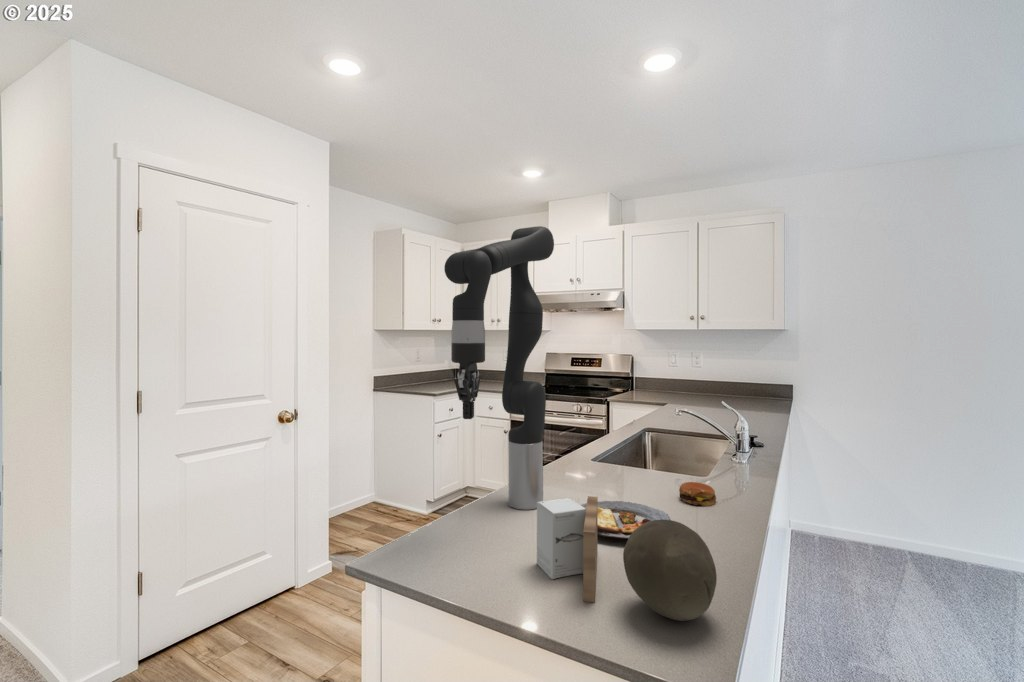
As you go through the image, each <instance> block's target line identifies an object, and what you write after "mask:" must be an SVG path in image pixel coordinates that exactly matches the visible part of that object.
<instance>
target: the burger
mask: <svg viewBox="0 0 1024 682" xmlns="http://www.w3.org/2000/svg"><path fill="white" fill-rule="evenodd" d="M678 490H679V491H678V492H679V498H680V499H682V500H683V502H685V503H688V504H692V505H693V506H698V505H700V506H701V507H710V506H714V505H715V503H716V500H717V495H716V492H715V489H714V488H713V487H712V486H711V485H708V484H705V483H702V482H697V481H688V482H684V483H681V485H680V486H679V489H678Z"/></svg>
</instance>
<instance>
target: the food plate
mask: <svg viewBox="0 0 1024 682" xmlns="http://www.w3.org/2000/svg"><path fill="white" fill-rule="evenodd" d="M580 505H581V506H582V507H584V508H585V509H586V507H587V502H586V503H581V504H580ZM614 514H619V517H616V516H615V515H614ZM636 517H641V518H642V520H639V519H636ZM616 518H617V519H616ZM653 520H671V517H670V516H669V514H668V513H667V512H665V511H663V510H661V509H659V508H655V507H652V506H648V505H645V504H642V503H636V502H630V501H629V500H628V501H624V500H601V501H599V500H598V532H597V536H600V537H602V538H603V537H609V538H615V539H626V540H628V538H629V536H630V535H631V534H632V533H633V531H634V530H635V529H637V528H638V527H639V526H641V525H643V524H644V523H646V522H648V521H653Z"/></svg>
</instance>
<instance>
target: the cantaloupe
mask: <svg viewBox="0 0 1024 682" xmlns="http://www.w3.org/2000/svg"><path fill="white" fill-rule="evenodd" d="M622 556H623V566H624V570H625V575H626V578H627V581H628V583H629V585H630V586H631V588H632V590H633V591H634V592H635V594H636V595H637V596H638V598H639V599H640V600H642V602H643V603H644V604H645V605H646V606H647V607H649V608H650V609H651V610H653V612H656V613H657V614H658V615H661V616H663V617H665V618H667V619H671V620H674V621H679V622H685V621H687V622H688V621H692V620H695V619H698V618H700V617H701V616H702V615H704V613H706V612H707V611H708V609H709V608H710V606H711V603H712V600H713V598H714V595H715V591H716V588H717V569H716V564H715V561H714V559H713V556H712V554H711V550H709V547H708V545H707V543H706V542H705V541H704V539H703V538H702V537H701V535H699V533H698V532H696V531H695V530H693V529H692V528H690V527H689V526H687V525H685V524H683V523H681V522H679V521H676V520H671V519H670V520H653V521H648V522H646V523H644V524H643V525H641V526H639V527H638V528H637V529H635V530H634V531H633V533H632V534H631V535H630V536H629V538H628V539H627V540H626V543H625V545H624V548H623V555H622Z"/></svg>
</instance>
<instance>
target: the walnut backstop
mask: <svg viewBox="0 0 1024 682" xmlns="http://www.w3.org/2000/svg"><path fill="white" fill-rule="evenodd" d="M598 502H599V500H598V496H591V495H589V496H587V501H586V503H587V507H586V515H585V523H584V531H583V573H582V574H583V575H582V576H583V577H582V580H583V584H582V585H583V587H582V588H583V593H582V594H583V595H582V597H583V599H582V601H583V602H585V603H586V602H588V603H589V602H590V603H596V595H597V594H596V592H597V591H596V590H597V575H598V574H597V572H598V571H597V570H598V569H597V568H598V535H597V532H598Z"/></svg>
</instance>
